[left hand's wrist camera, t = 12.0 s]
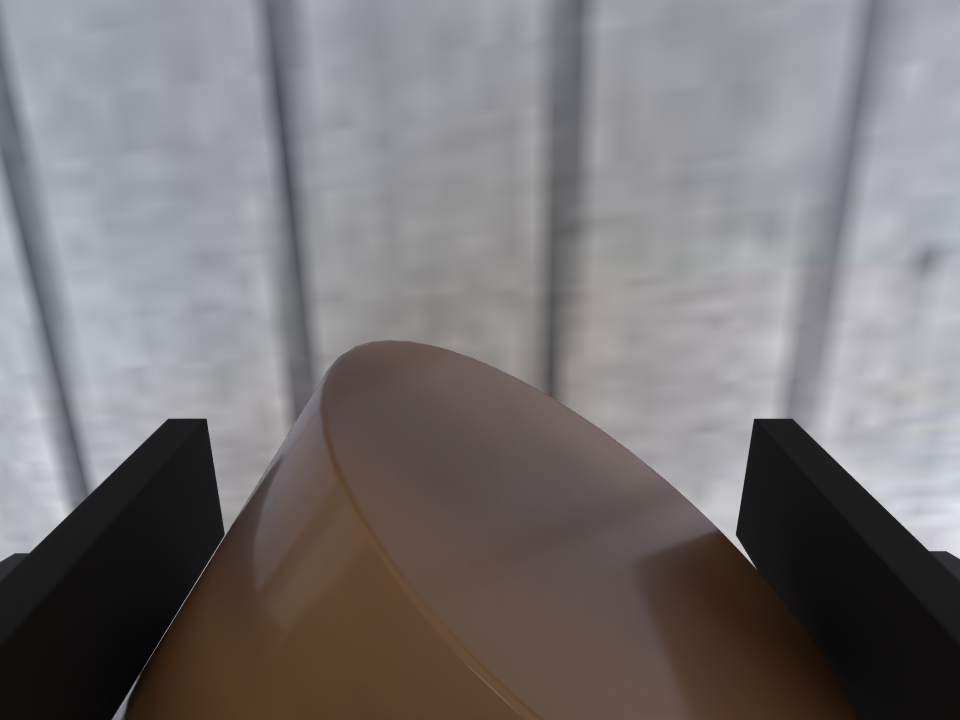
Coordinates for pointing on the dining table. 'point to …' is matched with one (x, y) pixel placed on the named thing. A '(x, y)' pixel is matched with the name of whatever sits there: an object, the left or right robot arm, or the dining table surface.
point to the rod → (473, 573)
